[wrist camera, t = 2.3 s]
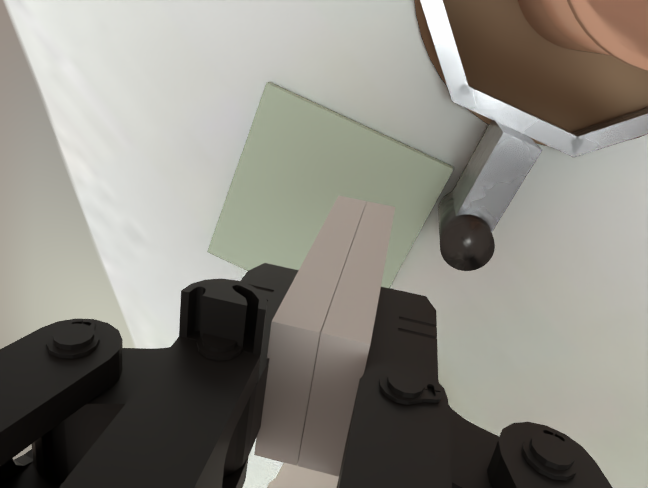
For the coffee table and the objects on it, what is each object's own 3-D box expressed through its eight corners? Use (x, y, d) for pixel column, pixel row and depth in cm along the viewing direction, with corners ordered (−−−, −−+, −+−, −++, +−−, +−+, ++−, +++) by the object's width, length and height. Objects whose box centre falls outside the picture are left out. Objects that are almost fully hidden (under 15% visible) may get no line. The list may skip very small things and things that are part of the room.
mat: (369, 322, 36) (368, 326, 36) (210, 248, 36) (207, 251, 36) (453, 166, 31) (453, 169, 31) (269, 81, 31) (266, 82, 31)
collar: (578, 289, 32) (607, 339, 26) (322, 170, 32) (301, 197, 27) (913, -168, 22) (1062, -228, 17) (538, -338, 22) (572, -449, 17)
